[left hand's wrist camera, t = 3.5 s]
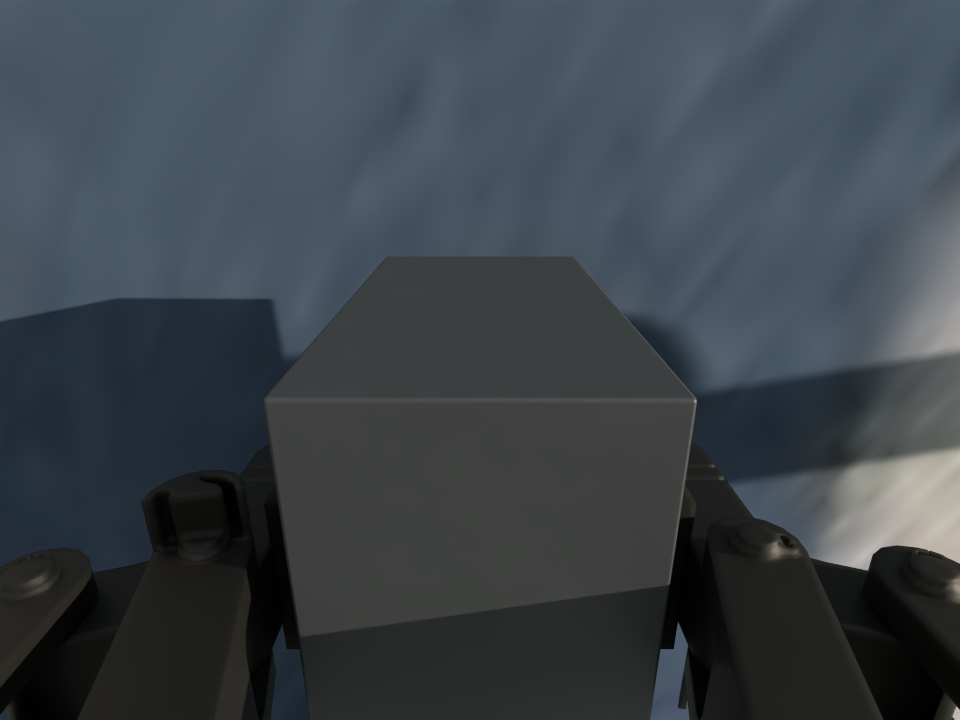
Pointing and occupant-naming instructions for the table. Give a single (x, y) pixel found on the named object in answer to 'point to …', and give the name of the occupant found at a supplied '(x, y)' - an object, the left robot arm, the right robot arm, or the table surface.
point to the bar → (480, 496)
